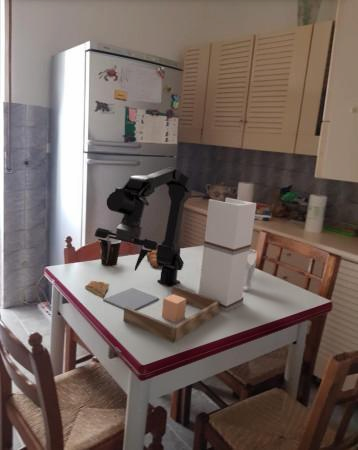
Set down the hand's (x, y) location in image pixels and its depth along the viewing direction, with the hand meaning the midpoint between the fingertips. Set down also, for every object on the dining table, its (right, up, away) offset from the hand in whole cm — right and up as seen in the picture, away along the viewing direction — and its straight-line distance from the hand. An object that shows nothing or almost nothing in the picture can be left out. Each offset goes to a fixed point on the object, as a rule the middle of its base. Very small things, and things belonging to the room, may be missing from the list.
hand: (120, 267), depth 114 cm
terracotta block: (+16, -15, +1) cm, 22 cm away
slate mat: (+2, -12, +10) cm, 16 cm away
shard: (-9, -10, +17) cm, 22 cm away
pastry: (+9, -4, +53) cm, 54 cm away
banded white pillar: (+32, -14, +15) cm, 38 cm away
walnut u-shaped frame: (+16, -15, +1) cm, 22 cm away
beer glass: (+42, -12, +30) cm, 53 cm away
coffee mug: (-12, -4, +42) cm, 44 cm away
